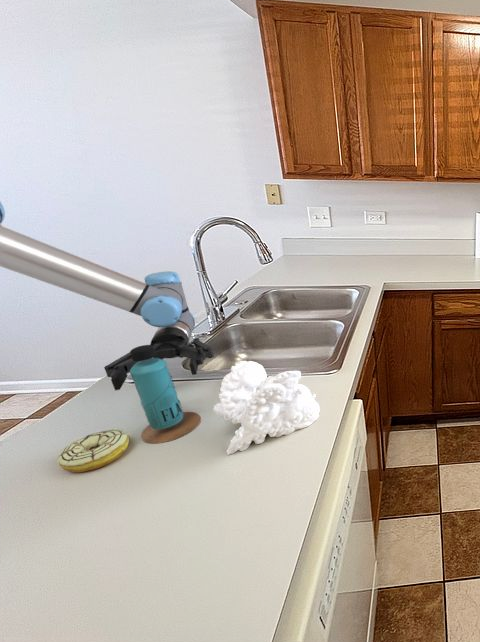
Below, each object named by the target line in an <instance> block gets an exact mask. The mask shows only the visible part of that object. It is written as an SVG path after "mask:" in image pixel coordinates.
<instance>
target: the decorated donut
mask: <svg viewBox="0 0 480 642" xmlns="http://www.w3.org/2000/svg"><path fill="white" fill-rule="evenodd" d="M129 443H130V436H129V435H128V433H127V432H126V431H125V430H124V429H109V430H103V431H99V432H94V433H91V434H88V435H86V436H84V437H81V438H79V439H77V440H75V441H73V442H71V443H70V444H68V445H67V446H65V447H64V448H62V450H60V452H59V454H58V457H57V460H56V462H57V464H58V465H59V466H60V467H61V468H62V469H64V470H66V471H68V472H72V473H84V472H89V471H92V470H96V469H100V468H102V467H104V466H107V465H108V464H111V463H112V462H113V461H115V460H117V459H119V458H120V457H121V456H122V455H123V454H124V453H125V451H126V450H127V449H128V447H129Z"/></svg>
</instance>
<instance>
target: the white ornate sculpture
mask: <svg viewBox="0 0 480 642" xmlns="http://www.w3.org/2000/svg"><path fill="white" fill-rule="evenodd" d="M230 370H231V371H230V372H228V373H227V374H226V375H224V377H223V379H222V380H221V382H220V387H219V394H217V396H218V399H219V402H218V403H216V404H214V405H213V407H212V408H213V412H215V413H216V415H217V416H219V417H221V418H223V420H224V421H226V422H231V423H232V424H239V423H240V425H241V426H240V427H239V428H238V429H236V430H235V431H234V434H235V435H234V436H233V437H232V438H231V439H230V441H229V445H228V448H227V449H226V455H228V456H229V455H232V454H233V455H234V454H235V453H236V452H237V451H240V452H243V451H245V450H247V449H249V447H250V445H251V444H252V442H254V444H257V445H260V444H262V443H264V442H265V440H266V436H267V435H268V436H269V437H270V438H273V437H274V438H280V437H282V436H283V435H285V436H288V435H290V434H292V433H294V432H295V431H298V430H299V429H301V430H302V429H305V428H307V427H309V426H311V425H312V424H313V423H315V421H317V420H318V419H319V417H320V412H321V407H320V404H319V402H317V401H316V397H317V395H316V393H314V394H312V393H311V389H309V388H308V386H306V385H304V384H302V383H299V382H300V380H301V378H302V372H301V370H285V371H282V372H279V373H277V374H276V375H271V376H267V375H268V374H267V371H266V370H265V368H264V366H263V365H262V364H260V363H258V362H257V361H254V360H240V361H239V362H235V364H234V365H231V367H230Z"/></svg>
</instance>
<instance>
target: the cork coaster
mask: <svg viewBox="0 0 480 642" xmlns="http://www.w3.org/2000/svg"><path fill="white" fill-rule="evenodd" d="M182 412H183V414H184V415H183V419H182V420H181V421H180V422H178V423H177V424H175V425H173V426H171V427H168V428H164V429H153V428H151V426H150V425H147V426H146V427H145V428H144V429H143V430H142V432H141V435H140V438H141V440H142V441H143V442H144V443H146V444H151V445H153V444H154V445H155V444H163V443H168V442H172V441H175V440H177V439H180V438H183V437H184V436H187V435H188V434H190V433H191V432H193V431H194V430H195V429H197V428H198V427H199V425H200V424H201V421H202V418H201V415H200V414H199V413H198V412H194V411H182Z"/></svg>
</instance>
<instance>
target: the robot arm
mask: <svg viewBox="0 0 480 642" xmlns="http://www.w3.org/2000/svg"><path fill="white" fill-rule="evenodd" d="M5 215H6V211H5V207H4V206H3V203H2V202H1V201H0V267H1V268H3V269H5V270H6V269H7V270H9V271H12V272H15V273H18V274H21V275H23V276H27V277H28V278H29V277H30V278H31V279H35V280H37V281H39V282H43V283H46V284H49V285H51V286H55V287H57V288H61V289H62V290H66V291H69V292H72V293H74V294H78V295H80V296H83V297H86V298H89V299H92V300H94V301H97V302H100V303H102V304H105V305H108V306H112V307H114V308H117V309H120V310H122V311H126V312H129V313H132V314H134V315H136V316H140V317H141V318H142V320H143V321H144V322H145V323H147V324H148V325H149V326H151V327H154V328H157V329H156V331H155V333H154V335H153V337H152V338H151V341H150V344H149V345H152V346H153V347H154V349H155V351H156V353H157V355H156V356H155V357H153V358H159V359H162V360H164V359H175V358H181V359H183V358H187V359H190V360H189V363H188V366H189V369H190V371H191V375H192V376H195V375H197V373H198V369H199V366H201V365H203V364H204V362H205V360H206V359H213V358H214V357H215V354H214V352H213V348H212V347H211V346H209V345H208V344H206V343H204V342H202V341H201V340H200V338H199V337H195V338H193V339H192V340H191V341H190V339H191V336H192V333H193V332H194V329H195V326H196V319H195V317H194V315H193V313H191V312H190V308H189V306H188V303H187V299H186V296H185V292H184V287H183V282H182V280H181V279H180V278H181V277H180V275H179V274H178V273H177V272H175V271H167V270H166V271H158V272H157V271H156V272H153V273H149V274H147V275H146V276H144V282H142V281H140V280H138V279H135V278H133V277H131V276H128V275H125V274H123V273H121V272H117V271H116V270H113V269H110V268H108V267H106V266H103V265H100V264H98V263H95V262H93V261H91V260H88V259H86V258H83V257H80V256H78V255H75V254H74V253H70V252H68V251H65V250H63V249H60V248H58V247H56V246H53V245H50V244H48V243H46V242H43V241H40V240H38V239H35V238H33V237H31V236H28V235H26V234H23V233H20V232H19V231H17V230H16V231H15V230H13V229H11V228H9V227H6V226H3V225H2V223H3V222H4V220H5ZM137 362H139V361H133V360H132V358H131V353H130V351H129V352H128V353H126V354H124V355H122V356H120V357H119V358H117V359H115V360H114V361H112V362H110V363H109V364H107V365H105V366H103V369H104V371H105V373H106V376H107V378H110V381H111V384H112V386H113V388H114V391H121V388H122V387H123V385H124V383H125V381H126V380H127V378H128V374H130V370H131V368H132V367H133V366H134V365H135V364H136V363H137Z"/></svg>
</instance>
